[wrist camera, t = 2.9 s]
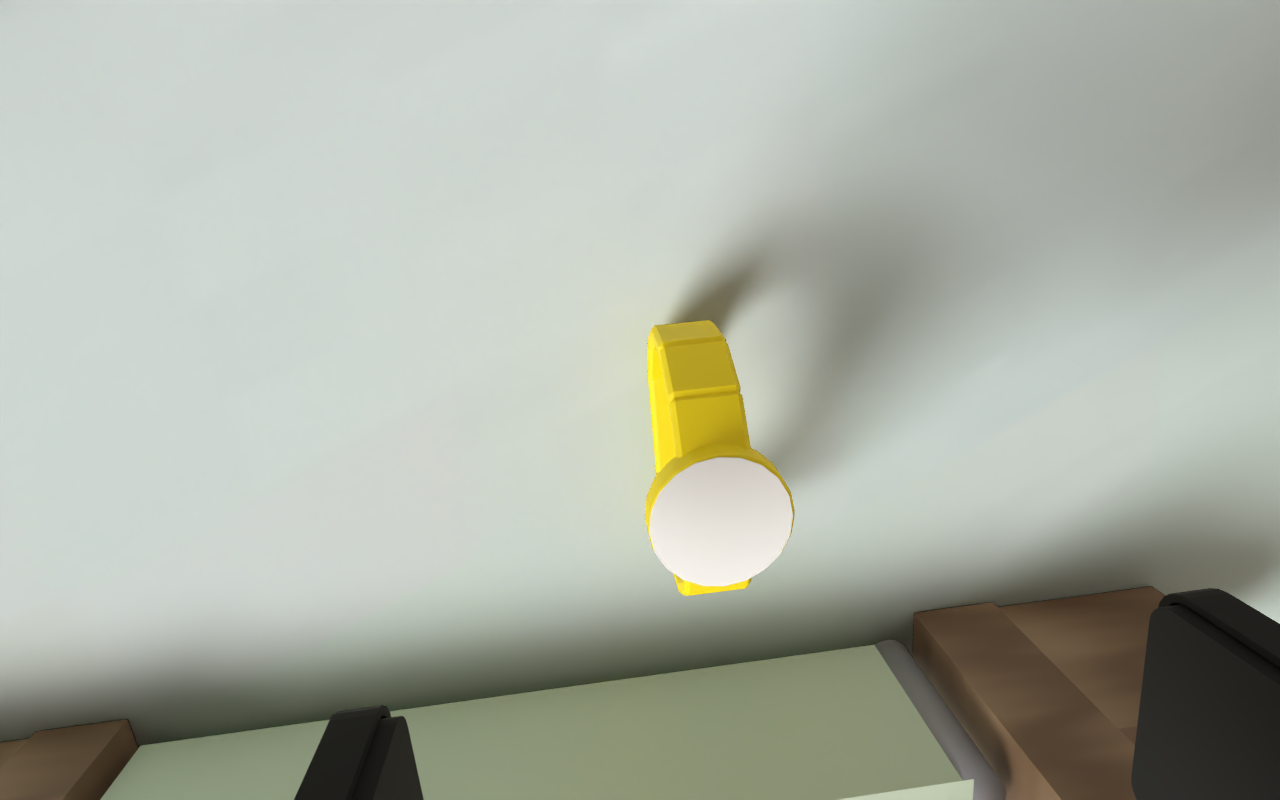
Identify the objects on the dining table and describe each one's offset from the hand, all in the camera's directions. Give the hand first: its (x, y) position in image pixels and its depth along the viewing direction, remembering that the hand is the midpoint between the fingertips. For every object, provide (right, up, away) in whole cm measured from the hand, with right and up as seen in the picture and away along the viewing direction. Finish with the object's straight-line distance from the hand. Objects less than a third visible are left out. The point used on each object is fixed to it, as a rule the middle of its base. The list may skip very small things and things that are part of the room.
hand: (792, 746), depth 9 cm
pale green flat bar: (-5, -5, +12) cm, 14 cm away
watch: (-1, +4, +10) cm, 11 cm away
